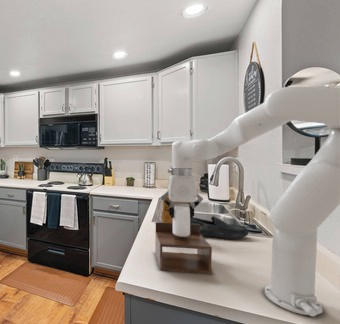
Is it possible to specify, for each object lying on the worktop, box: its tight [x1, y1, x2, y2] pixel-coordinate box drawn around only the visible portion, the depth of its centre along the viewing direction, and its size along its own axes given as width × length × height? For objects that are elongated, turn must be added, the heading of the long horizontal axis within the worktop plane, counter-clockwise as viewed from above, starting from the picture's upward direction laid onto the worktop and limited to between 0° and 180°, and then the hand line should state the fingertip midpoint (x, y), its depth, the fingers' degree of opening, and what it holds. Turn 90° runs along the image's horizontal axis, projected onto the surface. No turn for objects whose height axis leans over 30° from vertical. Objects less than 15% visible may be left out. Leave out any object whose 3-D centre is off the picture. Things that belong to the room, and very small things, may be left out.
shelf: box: [154, 221, 213, 275], centre depth 89 cm, size 14×18×14 cm
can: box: [173, 203, 190, 237], centre depth 88 cm, size 6×6×12 cm
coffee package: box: [161, 196, 186, 223], centre depth 113 cm, size 10×12×22 cm
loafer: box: [190, 215, 249, 240], centre depth 117 cm, size 10×29×10 cm, turn 81°
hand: (181, 216), depth 88 cm, fingers closed on can, 6 cm apart
